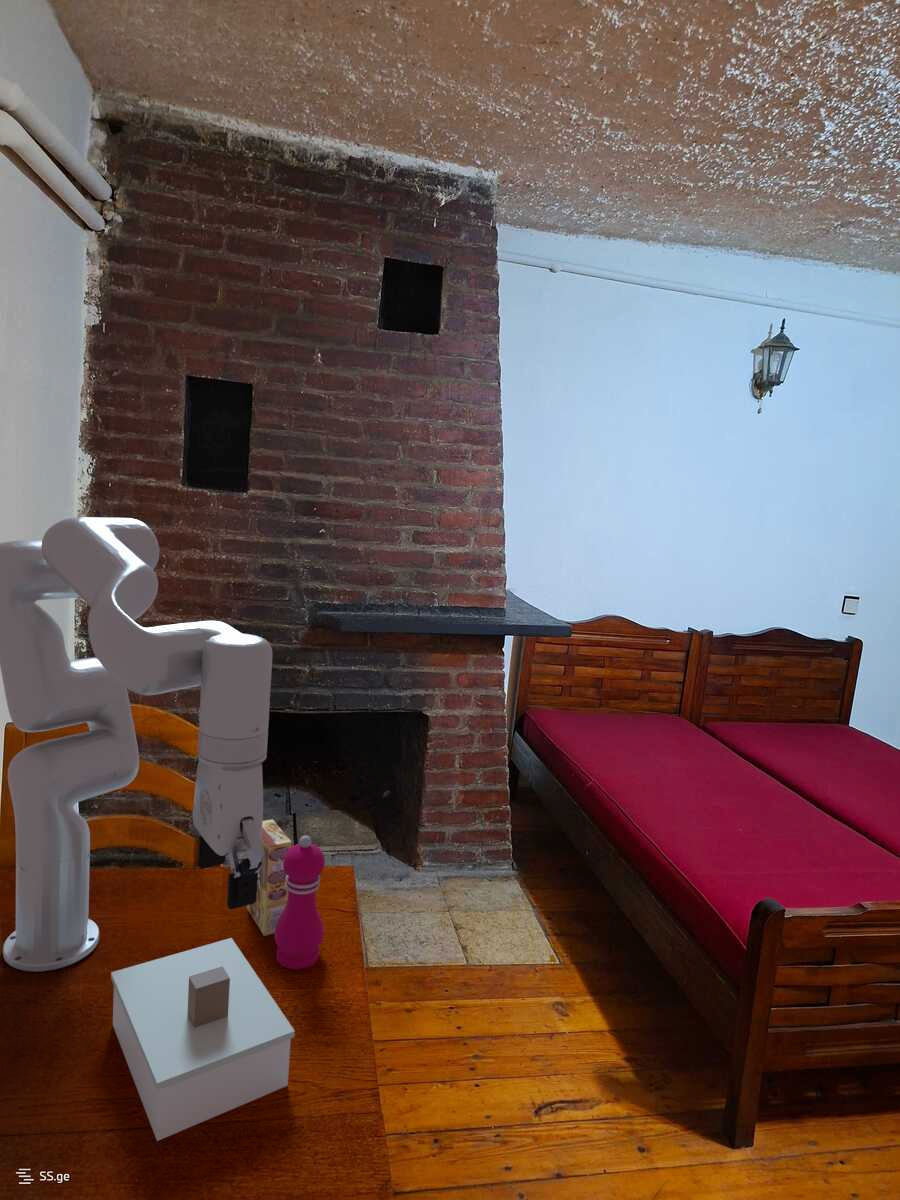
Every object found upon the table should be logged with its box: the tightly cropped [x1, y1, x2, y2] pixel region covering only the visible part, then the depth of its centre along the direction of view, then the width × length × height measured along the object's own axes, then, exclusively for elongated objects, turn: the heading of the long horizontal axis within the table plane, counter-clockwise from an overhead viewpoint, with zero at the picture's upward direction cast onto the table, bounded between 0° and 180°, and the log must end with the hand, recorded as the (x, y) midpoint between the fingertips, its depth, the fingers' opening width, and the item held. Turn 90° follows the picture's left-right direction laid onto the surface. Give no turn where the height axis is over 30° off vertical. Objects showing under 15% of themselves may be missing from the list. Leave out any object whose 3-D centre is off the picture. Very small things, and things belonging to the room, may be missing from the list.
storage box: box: [112, 986, 292, 1142], centre depth 93 cm, size 20×15×7 cm
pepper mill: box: [273, 835, 326, 970], centre depth 113 cm, size 7×7×20 cm
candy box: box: [246, 819, 293, 937], centre depth 123 cm, size 9×4×15 cm, turn 33°
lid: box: [110, 937, 296, 1090], centre depth 92 cm, size 21×16×6 cm
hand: (225, 884), depth 89 cm, fingers open, 9 cm apart
